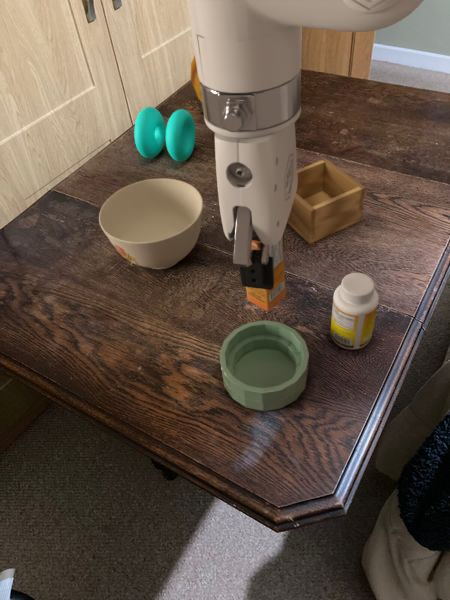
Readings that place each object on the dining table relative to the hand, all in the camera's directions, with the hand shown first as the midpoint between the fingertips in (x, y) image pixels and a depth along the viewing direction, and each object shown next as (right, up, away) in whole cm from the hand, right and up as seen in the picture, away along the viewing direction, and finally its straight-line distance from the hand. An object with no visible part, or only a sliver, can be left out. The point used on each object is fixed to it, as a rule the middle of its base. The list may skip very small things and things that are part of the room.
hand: (263, 267), depth 50 cm
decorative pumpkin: (-1, +43, +66) cm, 79 cm away
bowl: (-14, +4, +32) cm, 35 cm away
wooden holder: (+12, +11, +35) cm, 39 cm away
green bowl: (+1, -13, +14) cm, 19 cm away
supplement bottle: (+13, -8, +17) cm, 23 cm away
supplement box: (+1, -3, +4) cm, 5 cm away
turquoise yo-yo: (-16, +27, +53) cm, 62 cm away
